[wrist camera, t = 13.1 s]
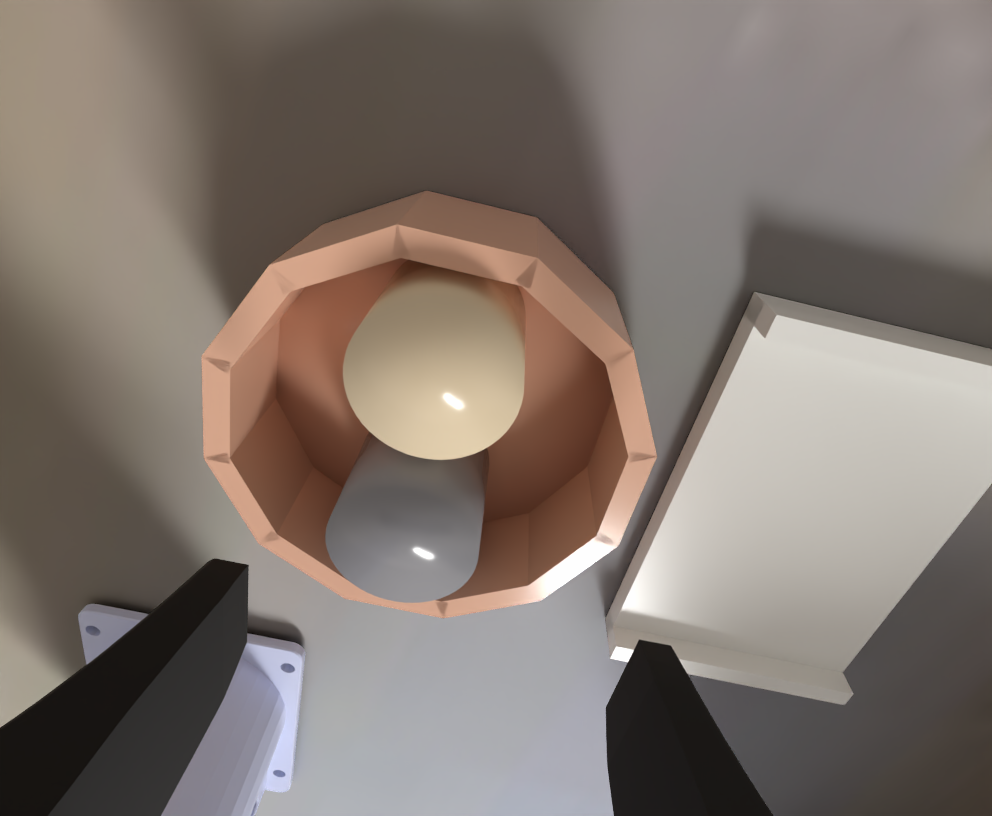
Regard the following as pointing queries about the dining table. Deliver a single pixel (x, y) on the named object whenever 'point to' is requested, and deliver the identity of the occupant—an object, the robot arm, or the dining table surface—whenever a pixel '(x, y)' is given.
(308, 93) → the dining table surface
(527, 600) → the terracotta bowl
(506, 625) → the dining table surface
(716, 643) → the parts tray
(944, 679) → the dining table surface
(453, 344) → the sandstone pebble
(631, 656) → the robot arm
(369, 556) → the grey rounded short piece
